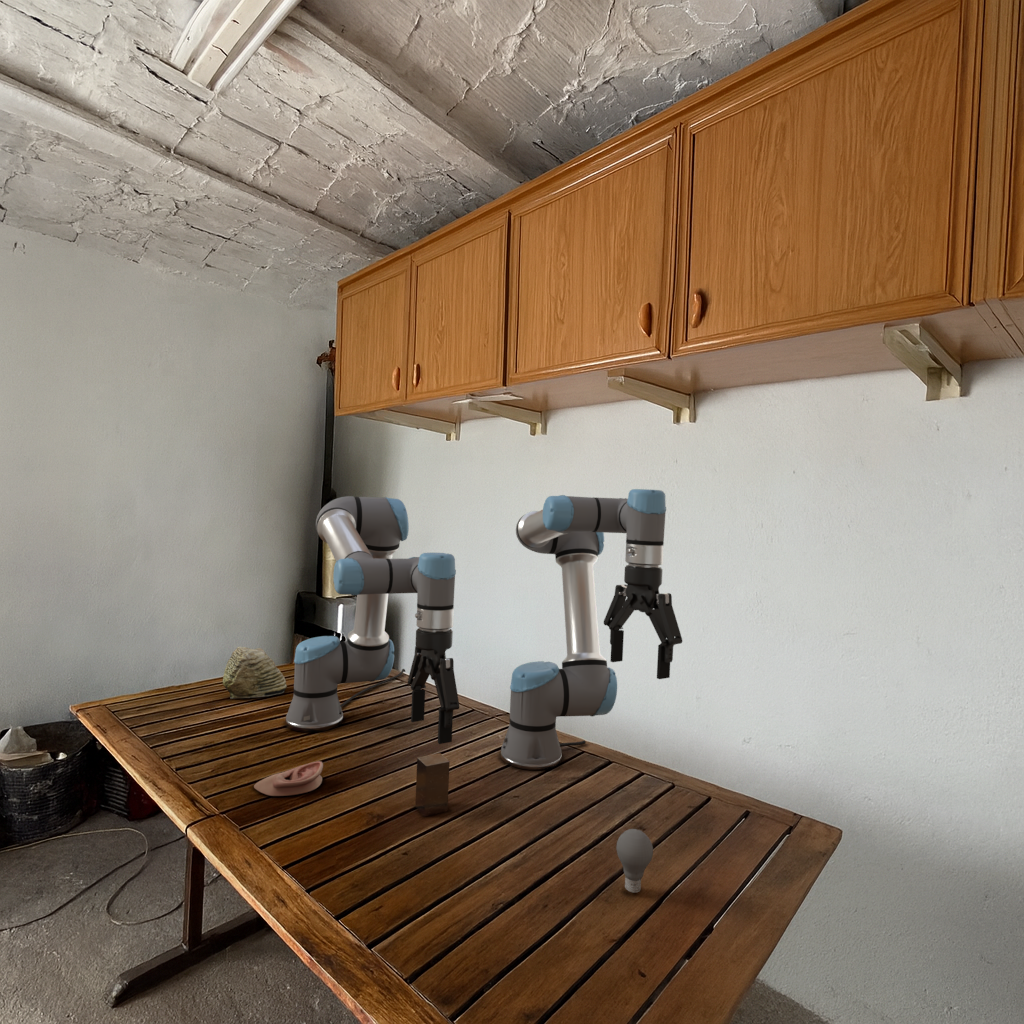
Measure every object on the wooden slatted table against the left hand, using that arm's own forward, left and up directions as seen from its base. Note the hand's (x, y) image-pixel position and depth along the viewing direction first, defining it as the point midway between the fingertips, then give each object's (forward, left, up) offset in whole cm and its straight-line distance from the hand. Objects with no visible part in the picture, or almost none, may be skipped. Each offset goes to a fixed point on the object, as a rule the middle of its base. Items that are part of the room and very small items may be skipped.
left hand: (430, 731), depth 130 cm
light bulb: (-4, +45, -16) cm, 48 cm away
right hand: (-25, +34, +15) cm, 45 cm away
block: (-1, +1, -16) cm, 16 cm away
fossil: (-13, -91, -16) cm, 94 cm away
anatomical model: (+14, -29, -16) cm, 36 cm away
